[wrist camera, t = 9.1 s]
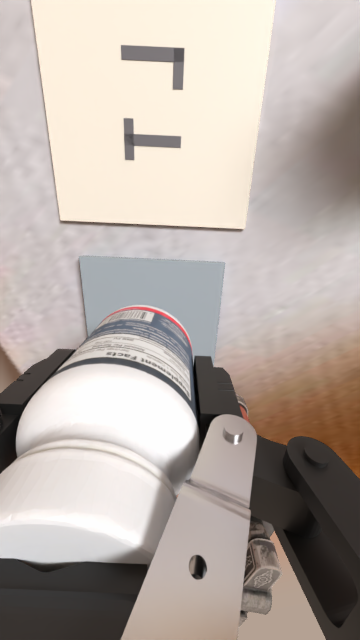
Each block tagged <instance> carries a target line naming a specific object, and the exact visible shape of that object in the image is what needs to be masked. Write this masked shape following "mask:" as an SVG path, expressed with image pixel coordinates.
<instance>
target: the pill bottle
mask: <svg viewBox="0 0 360 640" xmlns="http://www.w3.org/2000/svg"><path fill="white" fill-rule="evenodd" d="M16 453H17V459H16V460H15V461H14V462H13V463H12V464H11V465H10V466H9V467H7V468H6V469H5V470H4V471H3V472H2V473H1V474H0V558H14V559H16V560H18V561H20V562H22V563H24V564H26V565H28V566H30V567H32V568H34V569H36V570H38V571H41V572H51V571H55V570H58V569H62V568H65V567H69V566H72V565H76V564H79V563H83V562H86V561H90V562H107V563H129V564H147V572H148V570H149V567H150V565H151V562H152V560H153V557H154V555H155V552H156V550H157V547H158V545H159V542H160V540H161V537H162V535H163V532H164V530H165V527H166V525H167V522H168V519H169V517H170V514H171V512H172V509H173V507H174V504H175V502H176V499H177V498H176V496H177V495H178V494H179V492H180V490H181V487H182V485H183V483H184V482H185V480H186V479H187V480H189V479H190V477H191V475H192V472H193V469H194V467H195V464H196V461H197V459H198V454H199V423H198V412H197V401H196V389H195V377H194V365H193V354H192V346H191V341H190V338H189V336H188V333H187V332H186V330H185V328H184V327H183V326H182V324H181V323H180V322H179V321H178V320H177V319H176V318H175V317H174V316H172V315H171V314H169V313H168V312H166V311H164V310H162V309H159V308H156V307H153V306H148V305H132V306H126V307H123V308H120V309H118V310H116V311H114V312H113V313H111V314H110V315H108V316H107V317H106V318H105V319H104V320H103V321H102V322H101V323H100V324H99V325H98V327H97V328H96V329H95V330H94V331H93V332H92V333H91V335H90V336H89V337H88V338H87V339H86V340H85V341H84V342H83V343H82V345H81V346H80V347H79V348H78V349H77V350H76V351H75V352H74V353H73V354H72V356H71V357H70V358H69V359H68V360H67V361H66V362H65V363H64V364H63V365H62V366H61V367H60V368H59V369H58V370H57V371H56V372H55V373H54V374H53V375H52V376H51V377H50V378H49V379H48V380H47V381H46V382H45V383H44V385H43V386H42V387H41V388H40V389H39V390H38V391H37V392H36V393H35V394H34V396H33V397H32V398H31V400H30V401H29V403H28V404H27V406H26V407H25V409H24V411H23V413H22V416H21V418H20V421H19V424H18V428H17V434H16Z"/></svg>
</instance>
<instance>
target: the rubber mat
mask: <svg viewBox="0 0 360 640" xmlns="http://www.w3.org/2000/svg"><path fill="white" fill-rule="evenodd" d="M79 262H80V271H81V279H82V288H83V297H84V306H85V315H86V324H87V333H88V337H89V336H90V335H91V333H92V332H93V331H94V330H95V329H96V328H97V327H98V325H99V324H100V323H101V322H102V321H103V320H104V319H105V318H106V317H107V316H108V315H110V314H111V313H113V312H114V311H116V310H118V309H120V308H123V307H126V306H132V305H148V306H153V307H156V308H159V309H162V310H164V311H166V312H168V313H169V314H171V315H172V316H174V317H175V318H176V319H177V320H178V321H179V322H180V323H181V324H182V326H183V327H184V328H185V330H186V332H187V333H188V336H189V338H190V341H191V346H192V354H193V365H194V357H195V355H196V356H211V358H212V363H213V367H214V358H215V349H216V341H217V332H218V323H219V314H220V305H221V296H222V287H223V278H224V269H225V263H224V262H208V261H187V260H165V259H144V258H122V257H101V256H79Z"/></svg>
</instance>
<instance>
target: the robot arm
mask: <svg viewBox="0 0 360 640" xmlns="http://www.w3.org/2000/svg"><path fill="white" fill-rule="evenodd" d="M75 351H76V350H74V349H57V350H56V351H55V352H54V353H53V354H52V355H51V356H49V357H48V358H47V359H44V360H42V361H40V362H38V363H36V364H34V365H32V366H31V367H30V368H29V369H28V370H27V371H26V372H24V375H23V374H22V375H21V376H20V377H19V378H18V379H17V381H14V382H13V383H12V384H11V385H10V386H8V387H7V388H6V389H5V390H4V391H3V392H2V393H0V474H1V473H2V472H3V471H4V470H5V469H6V468H7V467H9V466H10V465H11V464H12V463H13V462H14V461H15V460H16V459H17V453H16V434H17V428H18V424H19V421H20V418H21V416H22V413H23V411H24V409H25V407H26V406H27V404H28V403H29V401H30V400H31V398H32V397H33V396H34V394H35V393H36V392H37V391H38V390H39V389H40V388H41V387H42V386H43V385H44V383H45V382H46V381H47V380H48V379H49V378H50V377H51V376H52V375H53V374H54V373H55V372H56V371H57V370H58V369H59V368H60V367H61V366H62V365H63V364H64V363H65V362H66V361H67V360H68V359H69V358H70V357H71V356H72V354H73V353H74V352H75ZM194 377H195V389H196V401H197V412H198V423H199V454H198V459H197V461H196V464H195V467H194V469H193V472H192V475H191V477H190V479H189V480H187V479H186V480H185V482H184V483H183V485H182V487H181V490H180V492H179V494H178V497H177V499H176V502H175V504H174V507H173V509H172V512H171V514H170V517H169V519H168V522H167V525H166V527H165V530H164V532H163V535H162V537H161V540H160V542H159V545H158V547H157V550H156V552H155V555H154V557H153V560H152V562H151V565H150V567H149V570H148V572H147V564H129V563H107V562H90V561H86V562H83V563H79V564H76V565H72V566H69V567H65V568H62V569H58V570H55V571H51V572H41V571H38V570H36V569H34V568H32V567H30V566H28V565H26V564H24V563H22V562H20V561H18V560H16V559H14V558H0V640H237V638H238V629H239V619H240V610H241V601H242V591H243V582H244V573H245V563H246V554H247V545H248V535H249V526H250V515H251V516H253V517H256V518H258V519H260V520H263V521H265V522H268V523H270V524H272V526H273V528H274V530H275V533H276V535H277V537H278V538H279V541H280V543H281V545H282V547H283V549H284V552H285V554H286V556H287V558H288V560H289V562H290V564H291V566H292V568H293V571H294V572H295V575H296V577H297V579H298V581H299V583H300V585H301V587H302V590H303V592H304V594H305V596H306V598H307V600H308V602H309V604H310V606H311V608H312V611H313V613H314V615H315V617H316V619H317V621H318V623H319V625H320V627H321V630H322V632H323V634H324V636H325V638H326V640H360V479H359V478H358V477H357V476H356V475H355V474H354V473H353V471H352V470H351V469H350V468H349V467H348V466H347V465H346V464H345V463H344V462H343V461H342V459H341V458H340V457H339V456H338V455H337V454H336V453H335V452H334V451H333V450H332V449H331V448H329V447H328V446H326V445H325V444H323V443H322V442H320V441H318V440H315V439H313V438H309V437H304V436H299V437H294V438H292V439H291V440H290V441H289V442H288V445H287V446H286V445H282V444H279V443H276V442H273V441H270V440H267V439H265V438H263V437H260V436H259V435H257V434H256V432H255V430H254V428H253V427H252V425H251V424H250V423H249V422H247V421H246V420H245V419H244V418H243V415H242V412H241V409H240V406H239V403H238V400H237V397H236V394H235V392H234V387H233V385H232V381H231V378H230V375H229V374H228V373H227V372H226V371H225V370H224V369H223V368H216V367H213V363H212V358H211V356H196V355H195V357H194Z"/></svg>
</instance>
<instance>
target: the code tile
mask: <svg viewBox="0 0 360 640" xmlns="http://www.w3.org/2000/svg"><path fill="white" fill-rule="evenodd" d="M31 4H32V12H33V19H34V27H35V34H36V42H37V49H38V57H39V64H40V72H41V79H42V87H43V94H44V102H45V109H46V117H47V124H48V132H49V139H50V147H51V154H52V161H53V169H54V176H55V184H56V191H57V199H58V206H59V214H60V220H62V221H82V222H104V223H125V224H146V225H168V226H189V227H211V228H232V229H245V225H246V218H247V210H248V203H249V196H250V188H251V181H252V173H253V166H254V159H255V151H256V144H257V137H258V129H259V122H260V115H261V107H262V100H263V92H264V85H265V78H266V70H267V63H268V56H269V48H270V41H271V34H272V26H273V19H274V11H275V4H276V0H31Z"/></svg>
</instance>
